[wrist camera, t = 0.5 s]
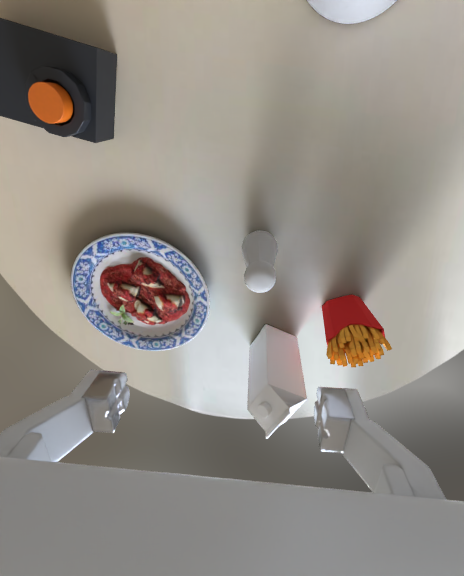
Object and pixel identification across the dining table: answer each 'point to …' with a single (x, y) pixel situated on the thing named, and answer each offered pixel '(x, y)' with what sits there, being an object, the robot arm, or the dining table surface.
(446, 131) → the dining table surface
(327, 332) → the french fries
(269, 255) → the salt shaker
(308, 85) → the dining table surface
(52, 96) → the orange push button
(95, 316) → the ceramic plate
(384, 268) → the dining table surface
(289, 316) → the dining table surface
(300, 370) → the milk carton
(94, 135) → the button base
